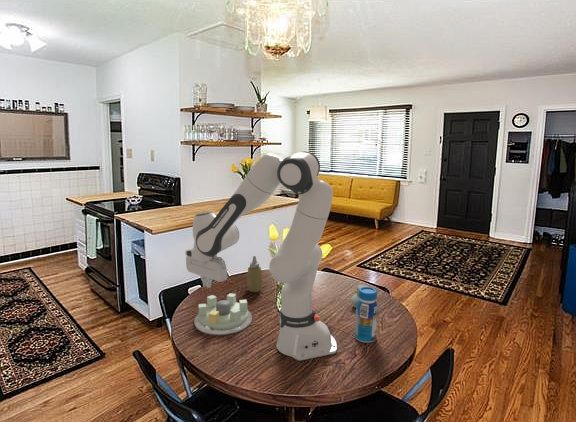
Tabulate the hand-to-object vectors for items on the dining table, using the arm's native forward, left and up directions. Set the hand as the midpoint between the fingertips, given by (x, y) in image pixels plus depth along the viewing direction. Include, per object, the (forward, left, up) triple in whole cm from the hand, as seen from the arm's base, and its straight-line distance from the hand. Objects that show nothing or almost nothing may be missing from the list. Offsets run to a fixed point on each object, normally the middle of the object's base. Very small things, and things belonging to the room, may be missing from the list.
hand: (207, 286), depth 145 cm
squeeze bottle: (-21, -35, -18) cm, 45 cm away
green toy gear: (-6, -6, -17) cm, 19 cm away
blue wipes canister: (-61, +15, -18) cm, 65 cm away
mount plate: (-6, -6, -18) cm, 20 cm away
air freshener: (-69, -10, -18) cm, 72 cm away
